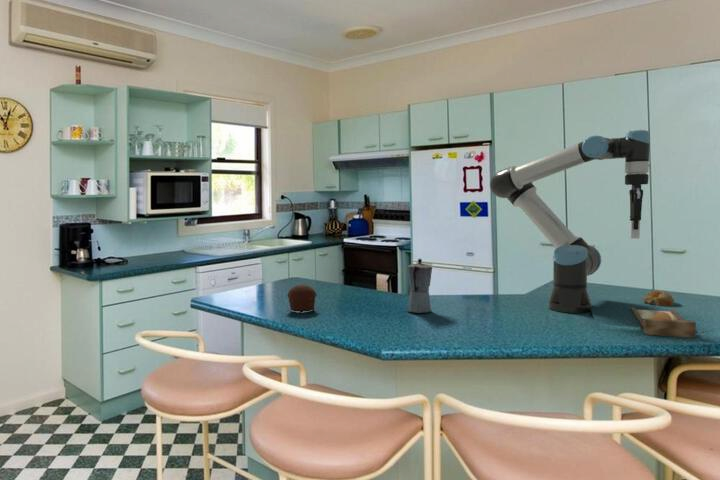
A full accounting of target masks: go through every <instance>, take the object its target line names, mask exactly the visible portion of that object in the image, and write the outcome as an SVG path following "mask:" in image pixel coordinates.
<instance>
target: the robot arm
mask: <svg viewBox="0 0 720 480" xmlns="http://www.w3.org/2000/svg"><path fill="white" fill-rule="evenodd" d="M650 144H651V142H650V132H649V131H648V130H645V129H639V130H638V129H637V130H629V131H627V132H626V133H625V137H624V136H623V137H614V138H613V137H612V138H609V137H603V136H601V135H590V136H588V137H587V138H585V139H584V141H581V142H579V143H576V144H573V145H571V146H568V147H565V148H562V149H560V150H557V151H556V152H552V153H550V154H547V155H545V156H542V157H541V158H538V159H535V160H532V161H529V162H527V163H524V164H522V165H519V166H515V165H512V166H509V167H508V168H507V167H506V168H504V169H500V170H498V171H497V172H495V173H494V174H493V175H492V177H491V179H490V180H489V181H490V182H489V188H490V190H491V193H492V194H493V195H495V196H496V197H498V198H501V199H507V200H508V201H509V202H510V204H512V206H514V207H519V208H520V209H521V211H522V212H524V214H525V215H527V217H528V218H529V220H530V221H531V222H532V223H533V224H534V225H535V226H536V227H537V229H538V230H539V231H540V232H541V233H542V234H543V235H544V237H545V238H546V239H547V240H548V241H549V242H550V243H551V244H552V245H553V247H554V251H553V257H552V260H553V277H552V278H553V283H552V284H553V286H552V291H551V293H550V296H549V298H548V300H547V307H548V309H549V310H553V311H557V312H561V313H570V314H571V313H572V314H578V313H589V312H591V311H592V301H591V298H590V295H589V292H588V276H591V275H593V274H594V273H596V272H598V271H597V270H599V269H600V267H601V264H602V255H601V252H599V250H598V249H597V248H596V247H595V246H592V245H589V244H588V243H587V242H586V241H585V239H584V238H583V237H582V236H575V235H574V233H572V231H571V230H570V229H569V228H568V227H567V226H566V224H565V223H564V222H562V220H561V219H560V218H559V217H558V216H557V215H556V214H555V213H554V211H553V210H552V209H551V208H550V207H549V206H548V205H547V204H546V202H544V201H543V199H542V198H541V197H540V196H539V195H538V194H537V187H536V186H535V185H534V184H533V182H536V181H538V180H541V179H544V178H547V177H549V176H552V175H555V174H557V173H558V174H559V173H560V172H563V171H566V170H569V169H571V168H575V167H576V166H579V165H582V164H585V163H589V162H591V161H594V160H598V161H603V160H612V159H624V160H625V162H624V173H625V175H624V184H625V185H627V186H631V189H630V190H629V191H628V192H629V209H630V210H629V213H630V214H629V215H630V216H629V221H630V239H640V231H641V230H640V229H641V228H640V227H641V225H640V224H641V221H642V208H643V198H644V189H642V185H648V184H649V177H650V176H649V173H650V172H649V169H650V167H651V164H650ZM647 173H648V174H647Z"/></svg>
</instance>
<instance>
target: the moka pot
mask: <svg viewBox="0 0 720 480" xmlns="http://www.w3.org/2000/svg"><path fill="white" fill-rule="evenodd" d="M422 261H423V260H422V259H421V258H418V259H417V263H413V264H409V265H407V273H408V274H407V275H408V277H407V278H408V284H409V289H410V290H409V291H410V292H409V296H408V304H407V309H406V310H407V312H410V313H414V314H426V313H427V314H428V313H430V312H432V307H431V299H430V286H431V281H432V272H433V271H432V270H433V266H432V265H429V264H425V263H422Z"/></svg>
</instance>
